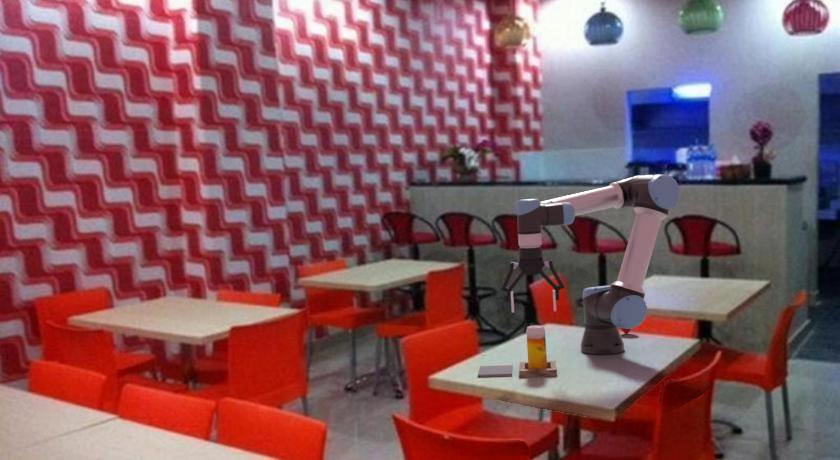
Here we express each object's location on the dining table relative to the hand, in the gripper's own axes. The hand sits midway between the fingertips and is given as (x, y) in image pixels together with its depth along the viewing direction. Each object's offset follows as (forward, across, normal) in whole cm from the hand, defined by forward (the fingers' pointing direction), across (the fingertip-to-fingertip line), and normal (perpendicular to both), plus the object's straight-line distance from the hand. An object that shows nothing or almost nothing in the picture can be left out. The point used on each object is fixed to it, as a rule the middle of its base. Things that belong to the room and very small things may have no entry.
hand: (533, 311), depth 253 cm
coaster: (+20, +14, -1) cm, 24 cm away
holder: (+20, 0, 0) cm, 20 cm away
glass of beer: (+20, 0, 0) cm, 20 cm away
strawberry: (+20, -35, -53) cm, 66 cm away
